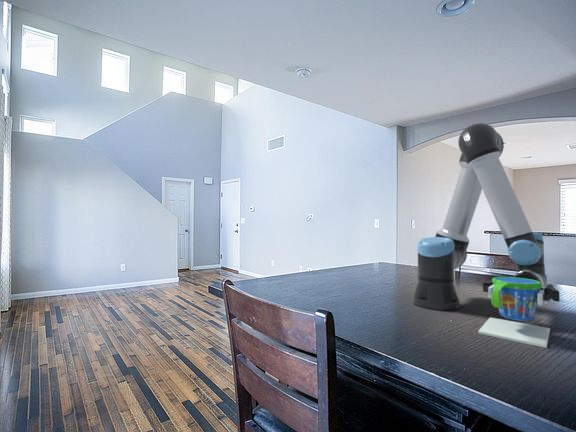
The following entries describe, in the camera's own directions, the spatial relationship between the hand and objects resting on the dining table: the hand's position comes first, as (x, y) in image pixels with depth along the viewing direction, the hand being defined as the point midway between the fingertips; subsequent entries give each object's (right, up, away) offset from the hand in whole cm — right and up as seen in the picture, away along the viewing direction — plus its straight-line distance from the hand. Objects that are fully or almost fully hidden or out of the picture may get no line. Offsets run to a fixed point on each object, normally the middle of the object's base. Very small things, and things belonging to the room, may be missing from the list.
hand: (513, 296), depth 82 cm
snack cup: (+3, -7, +3) cm, 8 cm away
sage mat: (+3, -10, +3) cm, 11 cm away
